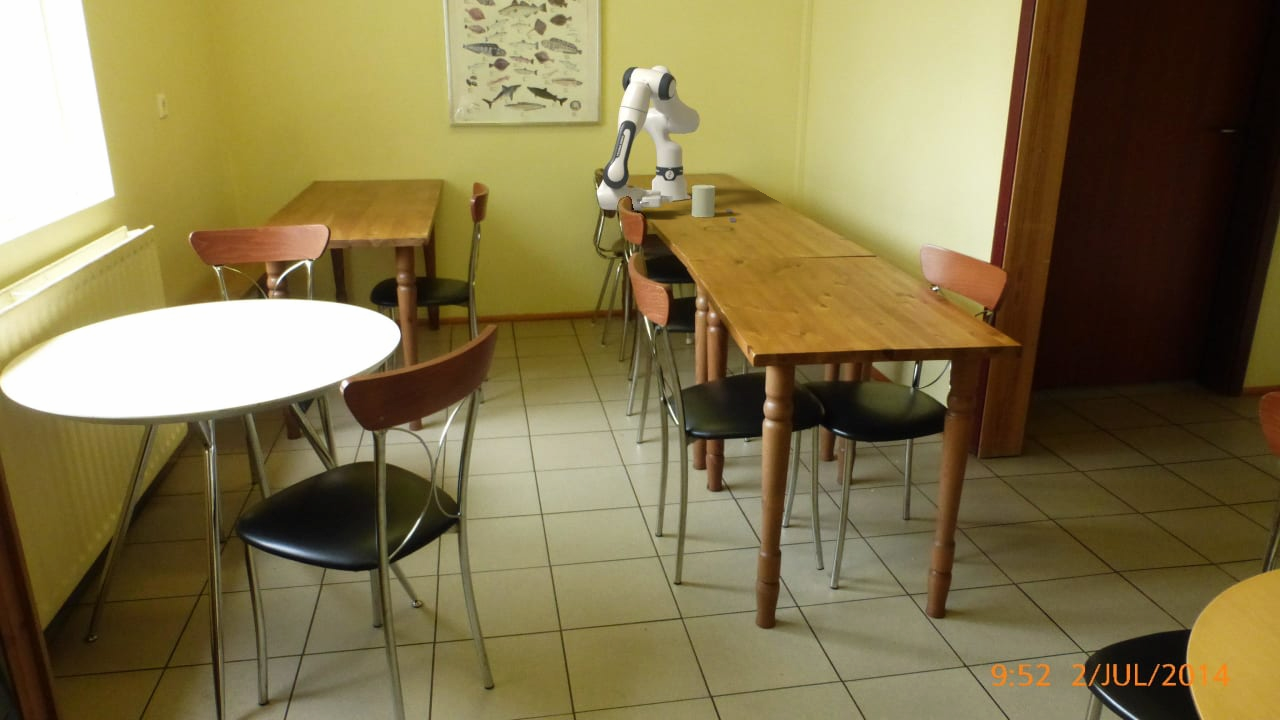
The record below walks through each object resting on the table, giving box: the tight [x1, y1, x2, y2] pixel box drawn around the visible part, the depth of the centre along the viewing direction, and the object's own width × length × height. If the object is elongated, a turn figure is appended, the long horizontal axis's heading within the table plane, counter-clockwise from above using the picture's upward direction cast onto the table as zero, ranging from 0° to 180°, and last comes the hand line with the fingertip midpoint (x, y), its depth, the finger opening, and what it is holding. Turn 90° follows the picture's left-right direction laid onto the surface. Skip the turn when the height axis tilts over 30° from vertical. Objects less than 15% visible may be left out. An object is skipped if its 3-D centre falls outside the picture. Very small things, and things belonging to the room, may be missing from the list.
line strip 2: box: [729, 217, 737, 223], centre depth 360 cm, size 8×2×1 cm, turn 179°
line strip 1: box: [725, 208, 733, 214], centre depth 380 cm, size 8×2×1 cm, turn 179°
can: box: [691, 184, 716, 218], centre depth 368 cm, size 9×9×12 cm
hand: (672, 199), depth 368 cm, fingers closed
